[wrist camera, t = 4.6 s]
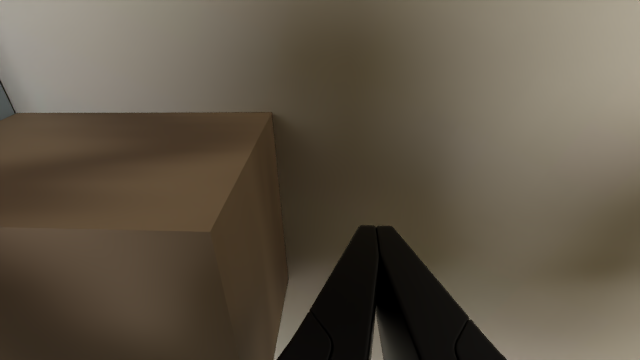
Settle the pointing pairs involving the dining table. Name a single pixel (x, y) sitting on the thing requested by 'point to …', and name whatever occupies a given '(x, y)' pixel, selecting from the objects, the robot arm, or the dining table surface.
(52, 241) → the walnut brick
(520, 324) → the dining table surface
